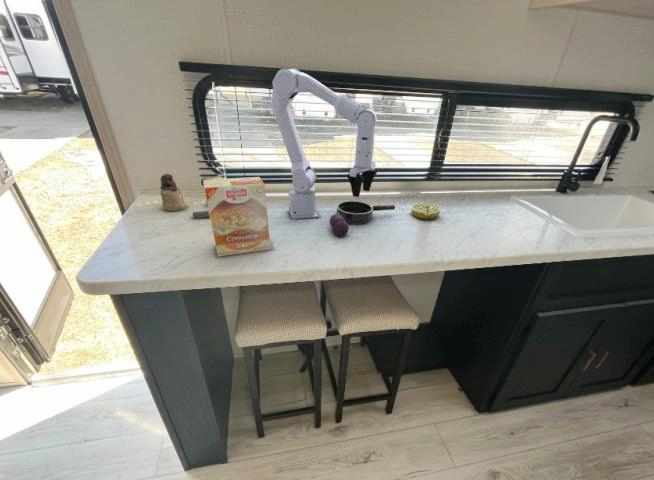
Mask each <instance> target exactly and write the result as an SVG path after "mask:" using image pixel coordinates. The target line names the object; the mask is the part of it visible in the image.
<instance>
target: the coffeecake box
mask: <svg viewBox="0 0 654 480" xmlns="http://www.w3.org/2000/svg"><path fill="white" fill-rule="evenodd" d="M202 181H203V182H202V183H203V189H204V194H205V199H206V200H207V203H206V205H207V209H208V210H207V211H209V215H210V217H209V220H210V225H211V229H212V230H211V231H212V235H213V240H214V244H215V250H216V254H217V257H219V258H220V257H226V256H233V255H239V254H240V255H241V254H247V253H255V252H261V251H270V250H271V240H270V230H269V229H270V228H269V218H268V217H269V216H268V206H267V197H266V196H267V194H266V185H265V183H264V181H263V180H262V178H261V177H260V176H251V177H249V176H248V177H232V178H231V177H230V178H211V179H203V180H202Z"/></svg>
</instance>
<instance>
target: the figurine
mask: <svg viewBox="0 0 654 480" xmlns="http://www.w3.org/2000/svg"><path fill="white" fill-rule="evenodd" d="M173 178H174V176H173V175H172V174H170V173H168V172H167V173H163V174H162V175H161V177H160V178H159V179H160V187H159V189H160V196H161V201H162V207H163V209H164V211H166V212H179V211H183V210H184V209H186V202H185V200H184V197H183V194H182V192H181V190H180V188H179V187H178V186H177V184H176V182H175V181H176V180H174V179H173Z"/></svg>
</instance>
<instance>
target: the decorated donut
mask: <svg viewBox="0 0 654 480" xmlns="http://www.w3.org/2000/svg"><path fill="white" fill-rule="evenodd" d="M410 212H411V213H412V214H413V216H415V217H416V218H417V219H420V220H434V219H436V218H437V217H438V216H439V215H440V214H441V209H440V207H439V206H438V205H436V204H434V203H430V202H427V201H425V202H424V201H422V202H417V203H415V204H413V205H412V207H411V209H410Z"/></svg>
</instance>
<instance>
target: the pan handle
mask: <svg viewBox="0 0 654 480" xmlns="http://www.w3.org/2000/svg"><path fill="white" fill-rule="evenodd" d="M371 206H372V207H373V212H376V211H393V210H395V209H396V205H395V204H381V205H380V204H379V205H371Z"/></svg>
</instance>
